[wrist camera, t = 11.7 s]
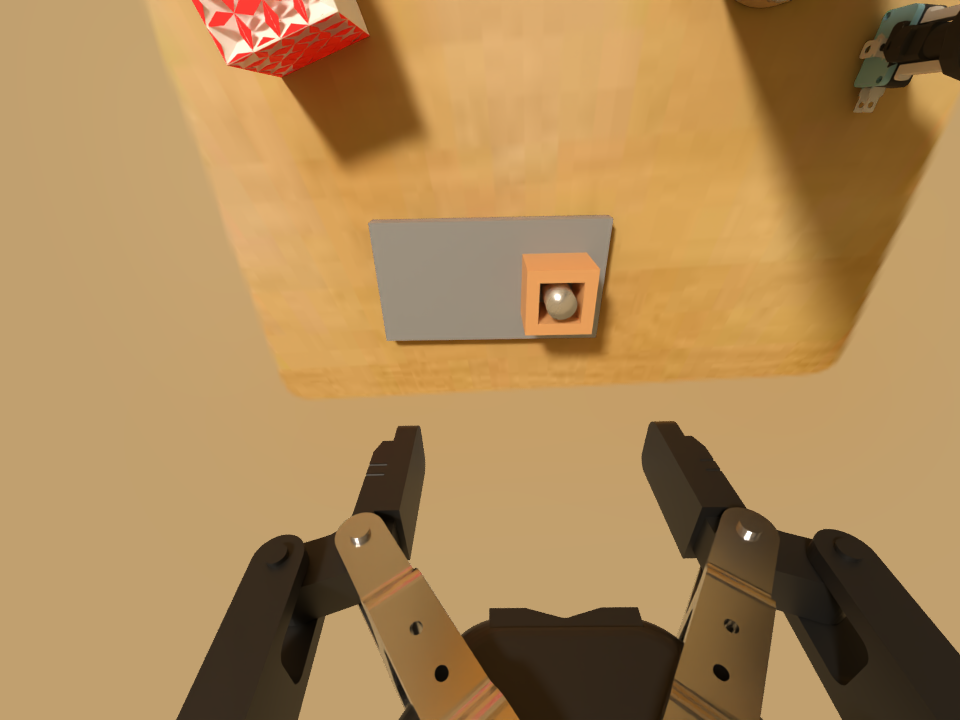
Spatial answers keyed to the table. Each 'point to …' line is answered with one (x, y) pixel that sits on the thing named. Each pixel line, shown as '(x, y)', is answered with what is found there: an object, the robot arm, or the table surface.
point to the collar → (558, 270)
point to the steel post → (558, 300)
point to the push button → (909, 50)
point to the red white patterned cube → (280, 31)
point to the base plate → (472, 272)
